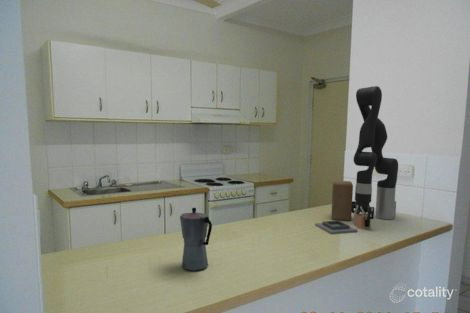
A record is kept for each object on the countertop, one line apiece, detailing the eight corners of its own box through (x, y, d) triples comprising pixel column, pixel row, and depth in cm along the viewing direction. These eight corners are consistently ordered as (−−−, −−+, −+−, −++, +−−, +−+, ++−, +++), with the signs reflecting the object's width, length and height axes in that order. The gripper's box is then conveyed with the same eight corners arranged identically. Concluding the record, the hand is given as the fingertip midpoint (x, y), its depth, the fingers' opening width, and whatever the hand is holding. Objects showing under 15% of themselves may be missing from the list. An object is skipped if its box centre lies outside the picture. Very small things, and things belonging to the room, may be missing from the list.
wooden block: (331, 219, 168) (333, 182, 166) (331, 215, 177) (332, 180, 176) (351, 221, 165) (353, 184, 163) (350, 216, 174) (351, 181, 173)
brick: (362, 224, 159) (363, 213, 159) (370, 228, 154) (370, 216, 153) (353, 225, 158) (354, 213, 157) (360, 228, 152) (361, 216, 152)
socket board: (339, 223, 160) (339, 218, 160) (357, 232, 147) (357, 226, 147) (315, 225, 157) (315, 220, 156) (331, 234, 143) (331, 228, 143)
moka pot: (191, 256, 115) (191, 202, 113) (222, 268, 105) (223, 209, 104) (170, 264, 108) (170, 207, 106) (202, 278, 98) (202, 215, 96)
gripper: (380, 194, 149) (378, 228, 150) (360, 189, 162) (358, 220, 164) (366, 195, 147) (364, 229, 148) (347, 189, 160) (346, 221, 162)
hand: (361, 224), depth 156 cm, fingers open, 7 cm apart
